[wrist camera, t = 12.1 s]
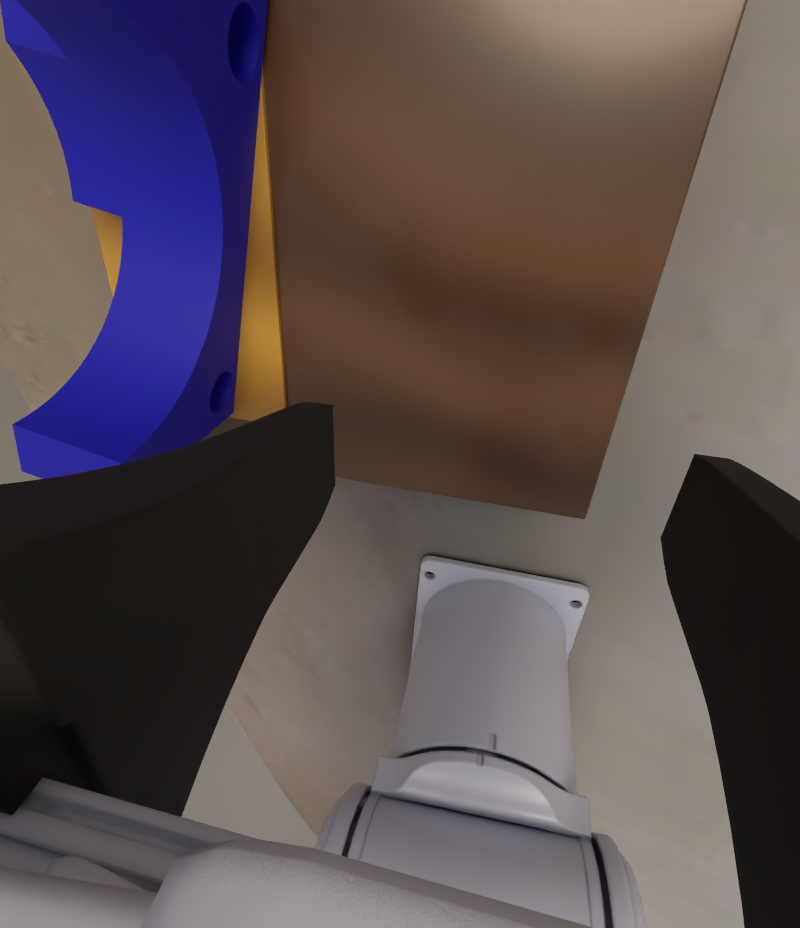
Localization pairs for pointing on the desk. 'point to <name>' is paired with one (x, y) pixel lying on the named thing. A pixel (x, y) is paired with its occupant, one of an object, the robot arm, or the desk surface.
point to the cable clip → (150, 212)
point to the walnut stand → (466, 228)
